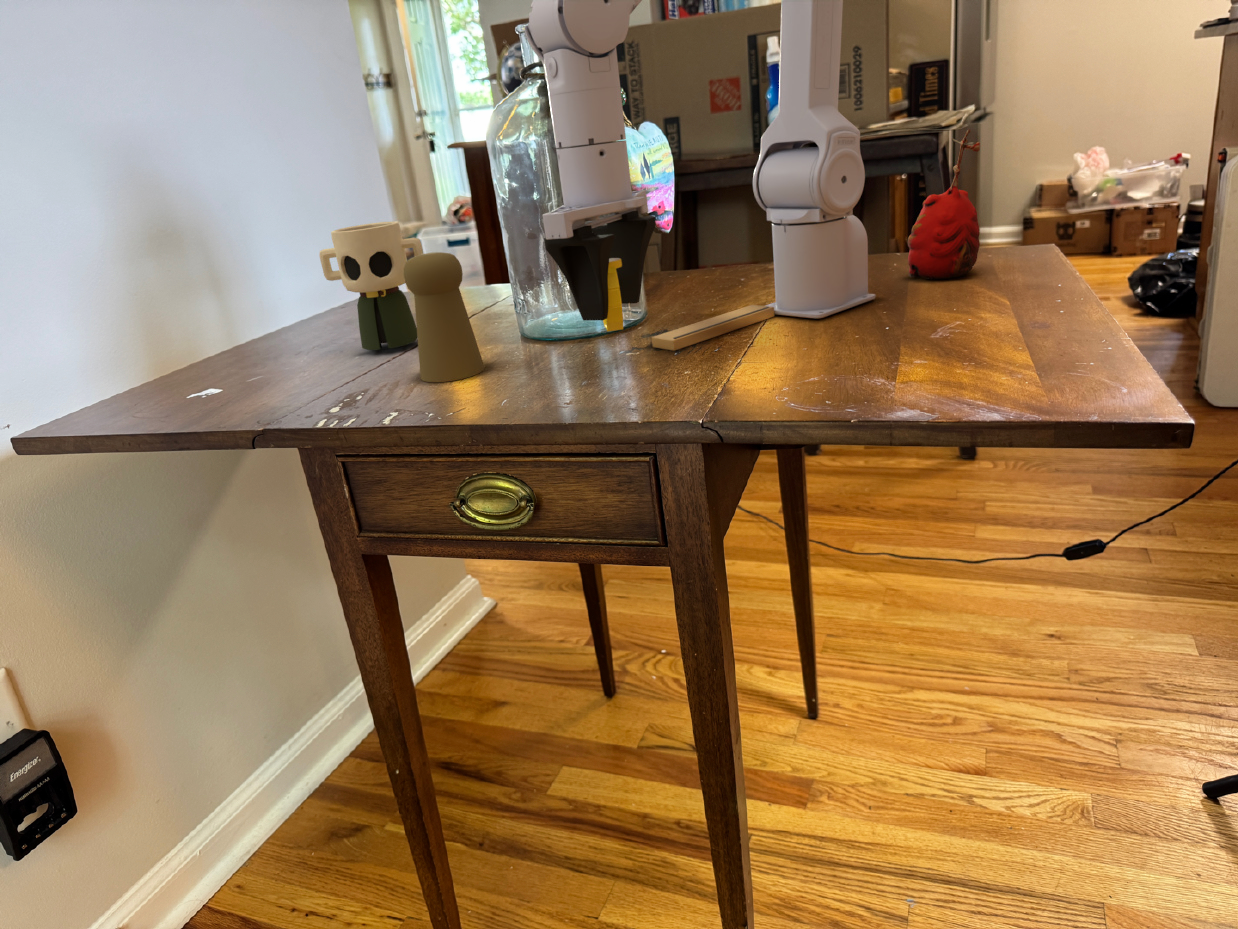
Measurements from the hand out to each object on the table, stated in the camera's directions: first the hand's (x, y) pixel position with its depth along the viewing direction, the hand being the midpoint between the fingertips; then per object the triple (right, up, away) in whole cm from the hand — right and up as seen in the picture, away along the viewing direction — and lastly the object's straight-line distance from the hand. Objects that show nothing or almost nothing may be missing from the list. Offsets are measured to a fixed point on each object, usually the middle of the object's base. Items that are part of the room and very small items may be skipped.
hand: (611, 311), depth 73 cm
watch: (0, -2, +1) cm, 2 cm away
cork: (-15, -5, +6) cm, 17 cm away
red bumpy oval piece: (+37, +7, +20) cm, 42 cm away
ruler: (+10, 0, +9) cm, 13 cm away
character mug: (-24, -1, +20) cm, 31 cm away
